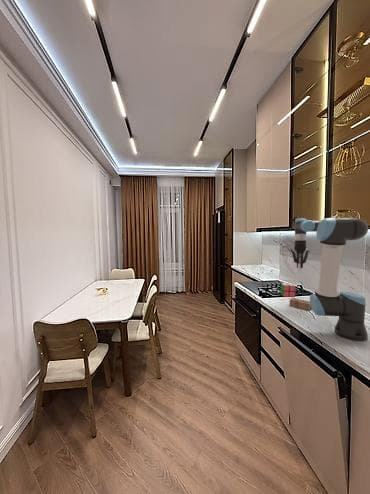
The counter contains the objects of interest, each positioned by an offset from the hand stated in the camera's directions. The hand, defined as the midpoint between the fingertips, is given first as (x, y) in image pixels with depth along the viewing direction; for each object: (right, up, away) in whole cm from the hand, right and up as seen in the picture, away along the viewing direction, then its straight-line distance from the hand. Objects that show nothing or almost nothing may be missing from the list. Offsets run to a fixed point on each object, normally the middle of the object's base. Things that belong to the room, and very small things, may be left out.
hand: (299, 272), depth 175 cm
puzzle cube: (+7, -24, +37) cm, 44 cm away
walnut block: (-1, -24, +10) cm, 26 cm away
